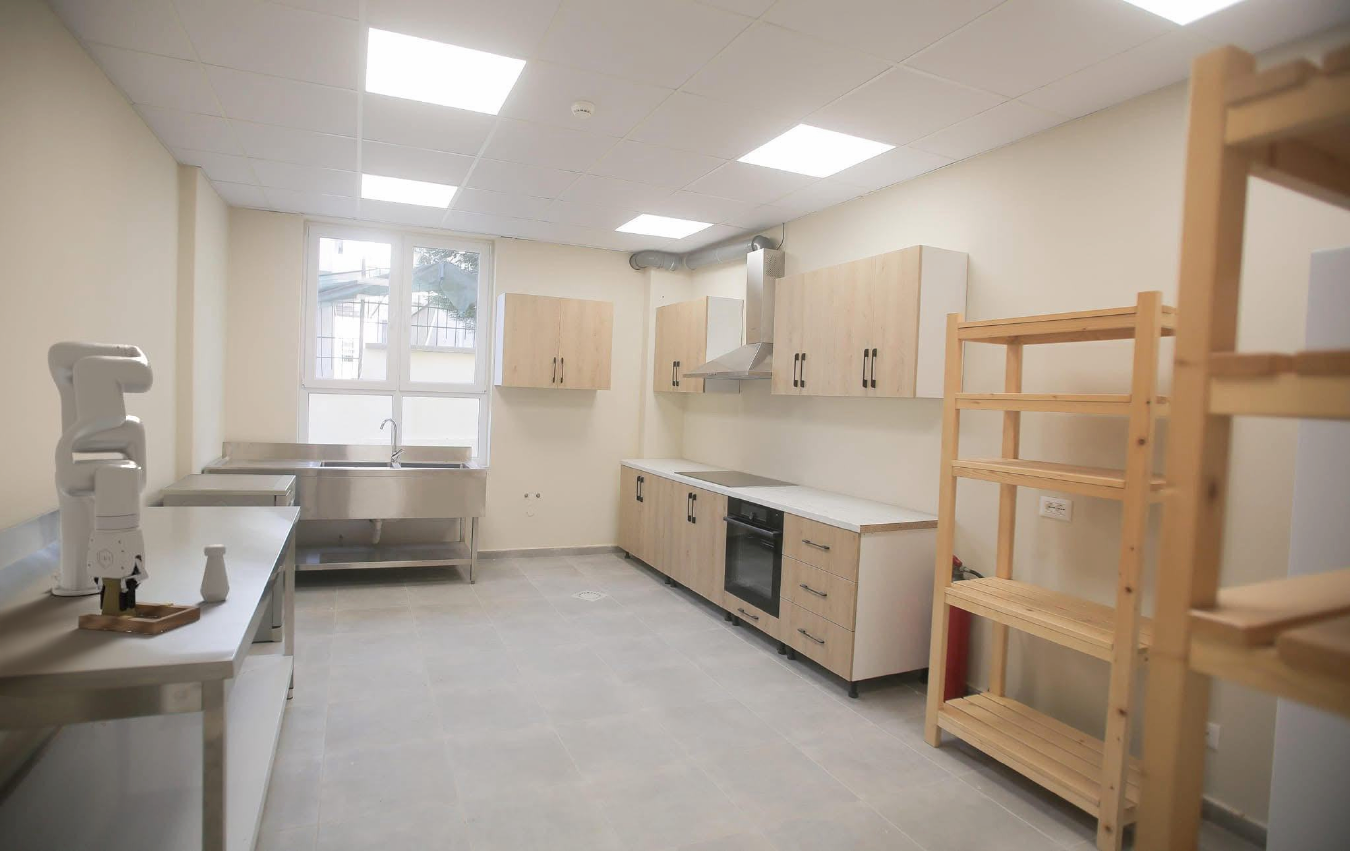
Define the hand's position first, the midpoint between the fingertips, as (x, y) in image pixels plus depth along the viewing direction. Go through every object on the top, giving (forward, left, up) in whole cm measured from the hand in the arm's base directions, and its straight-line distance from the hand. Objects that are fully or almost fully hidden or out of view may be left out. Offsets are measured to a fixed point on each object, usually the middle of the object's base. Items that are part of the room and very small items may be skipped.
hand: (118, 607), depth 151 cm
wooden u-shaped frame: (+5, 0, -3) cm, 6 cm away
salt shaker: (+7, +18, -3) cm, 19 cm away
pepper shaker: (0, 0, -3) cm, 3 cm away
